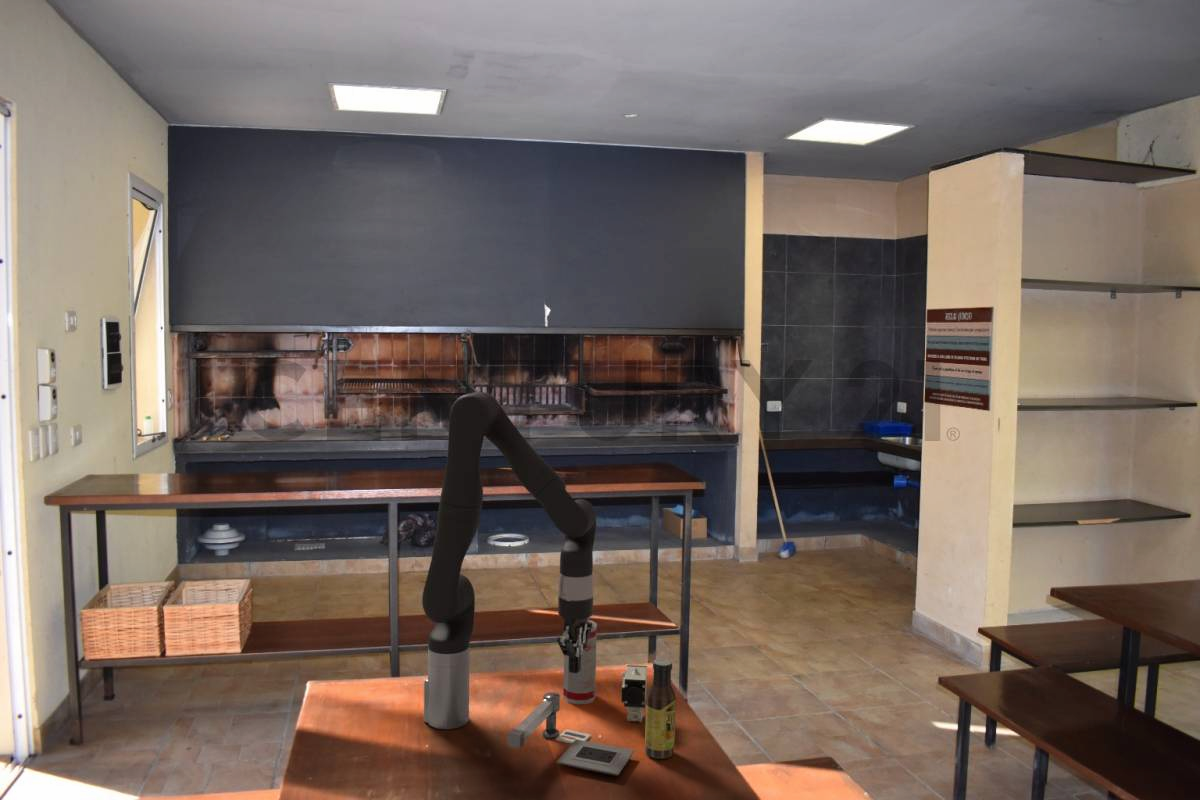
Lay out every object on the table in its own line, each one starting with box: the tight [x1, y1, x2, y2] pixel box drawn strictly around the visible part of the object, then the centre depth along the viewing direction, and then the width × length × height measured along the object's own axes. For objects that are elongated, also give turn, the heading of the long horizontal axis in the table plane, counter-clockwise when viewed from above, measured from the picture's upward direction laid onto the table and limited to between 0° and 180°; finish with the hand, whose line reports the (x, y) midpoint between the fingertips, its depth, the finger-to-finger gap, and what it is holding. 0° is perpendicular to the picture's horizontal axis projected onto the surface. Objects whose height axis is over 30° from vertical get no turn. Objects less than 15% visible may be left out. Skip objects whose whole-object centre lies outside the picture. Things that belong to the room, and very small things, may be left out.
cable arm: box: [507, 692, 561, 750], centre depth 188 cm, size 21×4×3 cm, turn 161°
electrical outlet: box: [556, 739, 635, 777], centre depth 185 cm, size 13×10×2 cm
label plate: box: [555, 728, 592, 745], centre depth 196 cm, size 6×5×1 cm
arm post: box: [542, 712, 560, 740], centre depth 197 cm, size 4×4×6 cm
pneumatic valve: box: [621, 664, 648, 723], centre depth 206 cm, size 6×12×12 cm, turn 176°
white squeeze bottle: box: [562, 618, 598, 705], centre depth 216 cm, size 8×8×25 cm
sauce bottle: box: [644, 658, 677, 760], centre depth 189 cm, size 6×6×20 cm
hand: (574, 671), depth 194 cm, fingers closed
